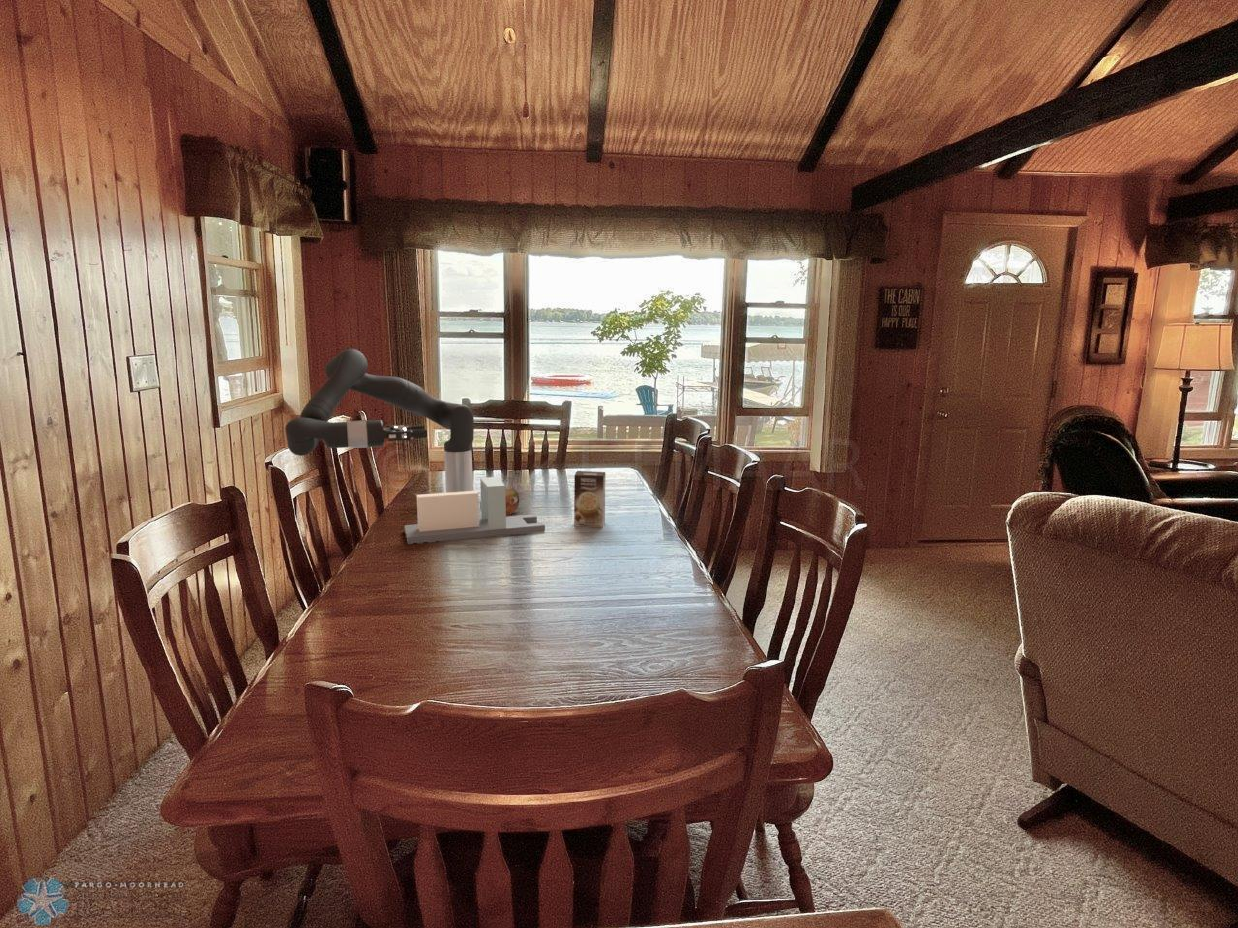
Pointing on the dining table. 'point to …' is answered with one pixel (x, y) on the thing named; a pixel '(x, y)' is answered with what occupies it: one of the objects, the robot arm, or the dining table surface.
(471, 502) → the block
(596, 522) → the coffee box
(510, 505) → the tin
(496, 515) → the tunnel
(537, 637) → the dining table surface
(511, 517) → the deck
